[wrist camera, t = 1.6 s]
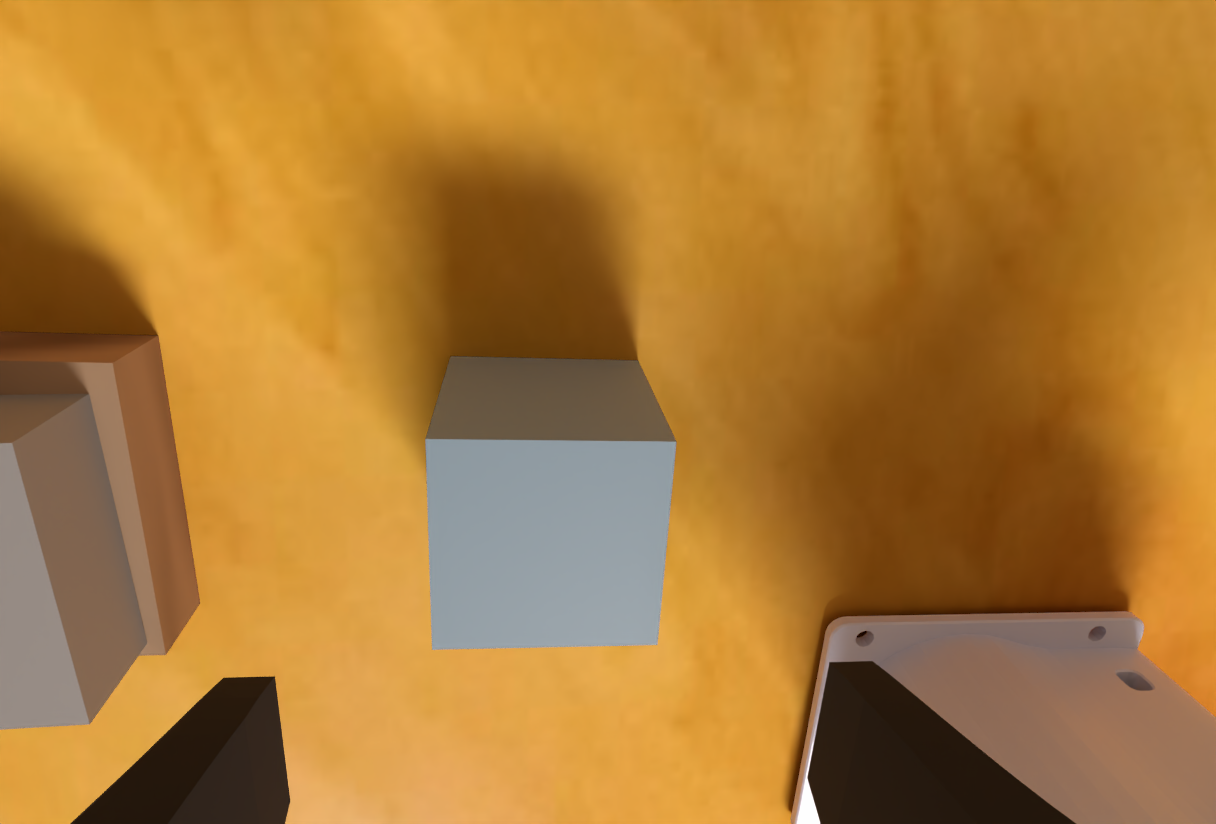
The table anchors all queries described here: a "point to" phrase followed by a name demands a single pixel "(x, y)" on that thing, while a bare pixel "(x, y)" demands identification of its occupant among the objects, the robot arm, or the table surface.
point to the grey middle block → (60, 567)
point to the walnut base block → (124, 456)
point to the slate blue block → (547, 504)
